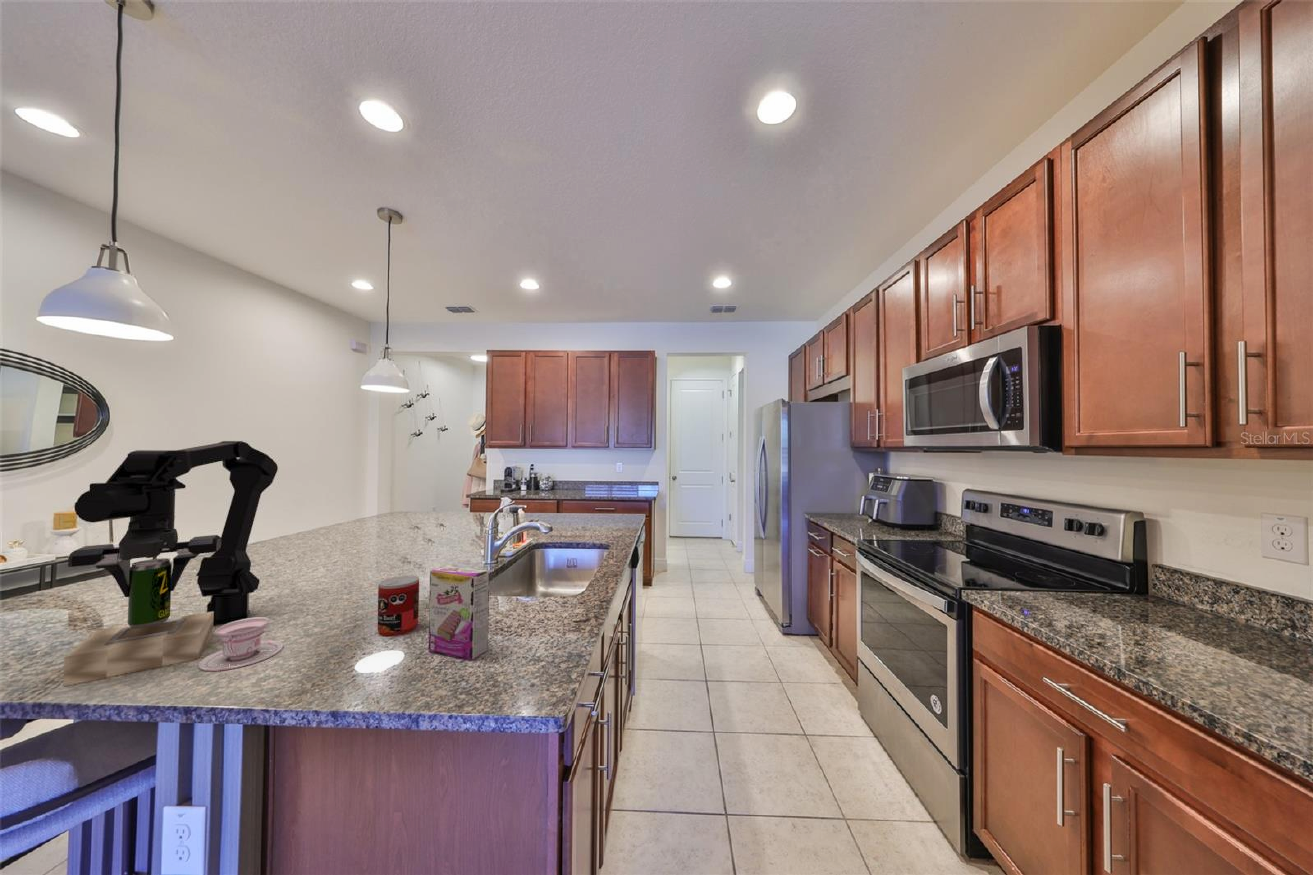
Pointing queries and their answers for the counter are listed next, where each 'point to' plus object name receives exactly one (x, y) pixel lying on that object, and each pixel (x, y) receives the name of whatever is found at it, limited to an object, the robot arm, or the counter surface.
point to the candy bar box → (459, 611)
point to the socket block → (138, 648)
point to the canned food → (398, 605)
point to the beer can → (149, 592)
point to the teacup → (241, 645)
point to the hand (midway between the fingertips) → (150, 593)
